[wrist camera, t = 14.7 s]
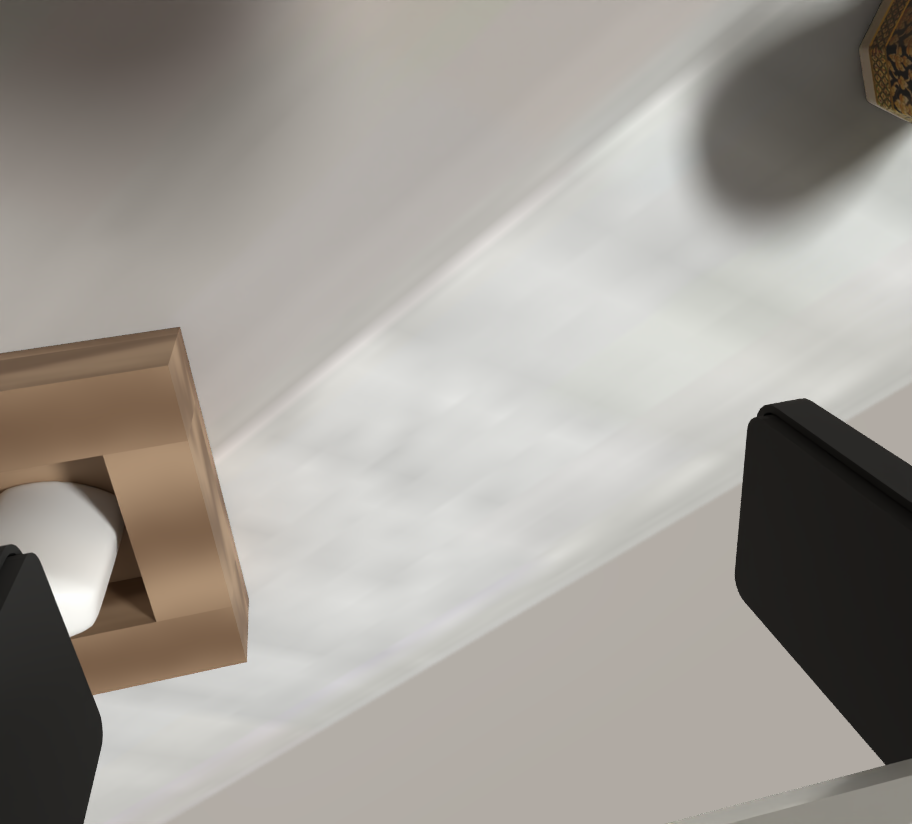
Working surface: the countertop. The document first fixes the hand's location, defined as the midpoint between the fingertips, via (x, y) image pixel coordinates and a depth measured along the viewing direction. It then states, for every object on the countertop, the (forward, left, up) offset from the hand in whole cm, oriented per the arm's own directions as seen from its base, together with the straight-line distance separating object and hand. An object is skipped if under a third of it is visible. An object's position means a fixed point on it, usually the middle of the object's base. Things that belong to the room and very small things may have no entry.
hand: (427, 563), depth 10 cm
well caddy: (+13, -14, -28) cm, 34 cm away
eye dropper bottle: (+13, -14, -28) cm, 34 cm away
